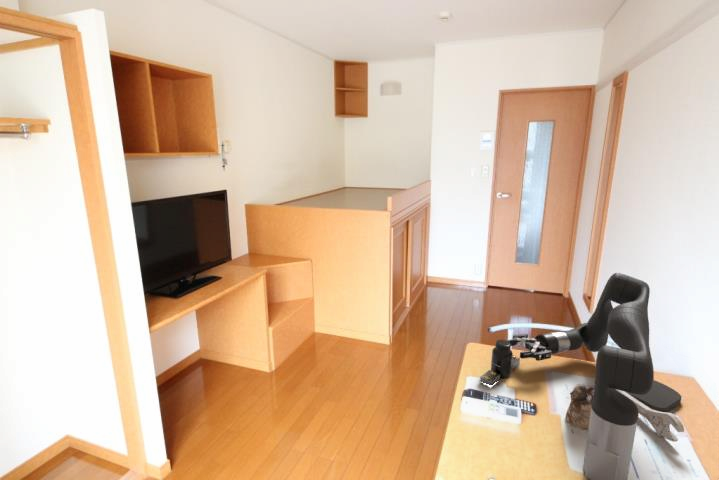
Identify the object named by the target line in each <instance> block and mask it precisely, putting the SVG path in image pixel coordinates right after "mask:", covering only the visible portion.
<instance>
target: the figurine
mask: <svg viewBox="0 0 719 480" xmlns="http://www.w3.org/2000/svg"><path fill="white" fill-rule="evenodd" d="M593 393H594V385H591V386H589V387H587V386H586V384H585V383H578V384H576V385H575V386H574V388H573V390H572V391H571V392H570V393H569V395H570V403H569V404H568V408H567V411H566V413H565V418H564V419H565V420H566V422H567V423H568V424H569V425H570V426H572V427H574V428H576V429H580V430H588V426H589V419H590V412H591V405H592V399H593ZM589 397H591V399H590V398H589Z"/></svg>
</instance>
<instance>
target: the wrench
mask: <svg viewBox="0 0 719 480" xmlns="http://www.w3.org/2000/svg"><path fill="white" fill-rule="evenodd" d="M615 390H617V389H615ZM617 391H618V392H620V393H621V394H623V395H624V396H626V397H628V398H629V399H630V400H632V401H633V402H634V403H635V404H636V406H637V408H638V411H639V414H638V415H641V416H643V418H645V419H646V420H647V421H648V422H649V423H650V426H652V428H653V429H654V430H655V432H656V435H657V437H663V438H664V439H666V440H668V441H672V442H678V441H679V438H678V437H677V435H675V433H674V432H673V431H672V430H671V429H670V425H671V426H672V427H673V429H675V431H677V433H683V432H685V427H684V424H683V423H682V421H681V420H680V419H679V417H678V416H676V415H675V414H674V413H672V412H667V413H666V412H660V411H656V410H653V409H650V408H649V407H647V406H646V405H644V404H643V403H641V402H640V401H638V400H637V399H635V398H634V397H632V396H631V395H629V394H628V393H626V392H625V391H621V390H617Z"/></svg>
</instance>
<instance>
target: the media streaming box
mask: <svg viewBox="0 0 719 480" xmlns="http://www.w3.org/2000/svg"><path fill="white" fill-rule="evenodd" d="M626 393H628V394H629V395H631V396H632V397H634V398H635V399H637V400H638V401H640V402H641V403H643V404H644V405H646V406H647V407H649V408H650V409H653V410H656V411H660V412H666V413H670V412H671V411H673V410H674V409H676V408H677V407H678V406H679V405H680V404H681V402H682V396H681V393H679V392H678V391H676V390H675V389H673V388H672V387H670V386H668V385H666V384H664V383H662V382H659V381H658V380H655V379H654V380H653V385H652V388H651V390H650V391H649V392H648V393H647V394H645V395H638V394H632V393H629V392H626Z"/></svg>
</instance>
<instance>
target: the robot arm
mask: <svg viewBox="0 0 719 480" xmlns="http://www.w3.org/2000/svg"><path fill="white" fill-rule="evenodd" d="M650 292H651V291H650V285H649V284H648V283H647V282H645V281H644V280H641V279H638V278H636V277H633V276H630V275H627V274H624V273H621V272H614V273H613V274H611V276H610V277H609V278H608V280H607V281H606V284H605V285H604V288H603V289H602V292H601V294H600V296H599V297H600V298H598V299H599V300H598V302H597V304H596V307H595V309H594V311H593V313H592V315H591V316H590V318H589V319H588V321H587V322H584V323H581V324H580V325H578V326H577V327H575V328H572V329H569V330H563V331H551V332H545V333H539V334H537V335H536V336H535V337H529V334H528V333H522V334H521V333H520V334H514V335H512V339H505V340H506V341H508V342H510V344H511V345H510V347H513V346H514V347H515V346H519V347H520V348H523V349H527V350H525V351H520V353H519V358H520V360H521V359H529V358H531V359H535V361H537V362H540V361H544V360H548V359H551V358H552V355H557V354H561V353H565V352H569V351H576V350H579V349H581V348H582V346H584V347H585V348H586V350H588V351H589V352H593V353H597V355H596V359H595V360H596V361H595V373H594V385H593V387H594V390H593V392H592V393H593V399H592V398H591V399H592V405H591V412H590V419H589V426H588V429H587V432H586V433H587V435H586V442H585V443H586V444H585V450H584V457H583V465H582V467H583V470H584V477H585V478H587V479H588V480H628V478H629V473H630V467H631V462H632V461H631V460H632V454H633V447H634V443H635V435H636V432H637V431H636V430H637V424H638V419H639V415H640V414H639V411H638V408H637V406H636V404H635V403H634V402H633V401H632V400H630V399H629V398H628V397H626V396H624V395H623V394H621V393H620V392H618V391H617V390H621V391H625V392H629V393H632V394H638V395H645V394H647V393H648V392H649V391H650V390H651V388H652V385H653V380H655V378H654V377H655V371H654V365H653V358H652V354H651V348H650V322H649V313H648V311H649V310H648V308H649V300H650ZM612 302H613V303H615V304H618V305H616V306H614V307H613V303H612ZM609 337H610V338H611V340H612V341H613V342H614V343H615V344H616V346H618V347H615V346H613V345H607V344H608V339H609ZM615 389H617V390H615Z"/></svg>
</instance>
